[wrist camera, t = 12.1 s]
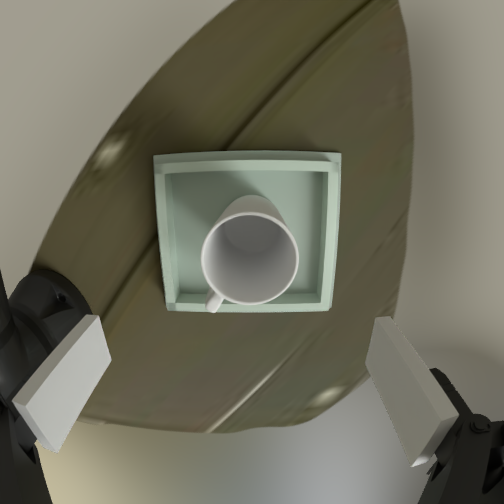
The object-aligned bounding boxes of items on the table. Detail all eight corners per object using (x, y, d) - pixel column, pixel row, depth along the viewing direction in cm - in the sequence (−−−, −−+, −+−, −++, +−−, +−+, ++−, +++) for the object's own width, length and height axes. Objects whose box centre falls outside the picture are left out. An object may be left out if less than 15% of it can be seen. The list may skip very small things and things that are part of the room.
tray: (167, 306, 35) (160, 317, 32) (154, 155, 30) (145, 155, 27) (330, 306, 35) (336, 317, 32) (340, 153, 29) (348, 152, 27)
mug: (244, 179, 30) (237, 191, 19) (296, 216, 31) (318, 249, 20) (192, 254, 33) (161, 304, 21) (242, 286, 34) (235, 349, 22)
